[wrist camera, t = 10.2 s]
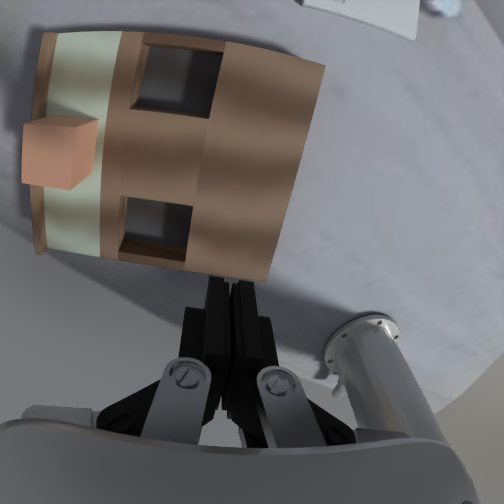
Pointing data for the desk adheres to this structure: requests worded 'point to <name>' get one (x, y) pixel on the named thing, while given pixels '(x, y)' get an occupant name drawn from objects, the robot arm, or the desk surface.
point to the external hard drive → (375, 13)
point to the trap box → (175, 148)
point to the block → (58, 151)
